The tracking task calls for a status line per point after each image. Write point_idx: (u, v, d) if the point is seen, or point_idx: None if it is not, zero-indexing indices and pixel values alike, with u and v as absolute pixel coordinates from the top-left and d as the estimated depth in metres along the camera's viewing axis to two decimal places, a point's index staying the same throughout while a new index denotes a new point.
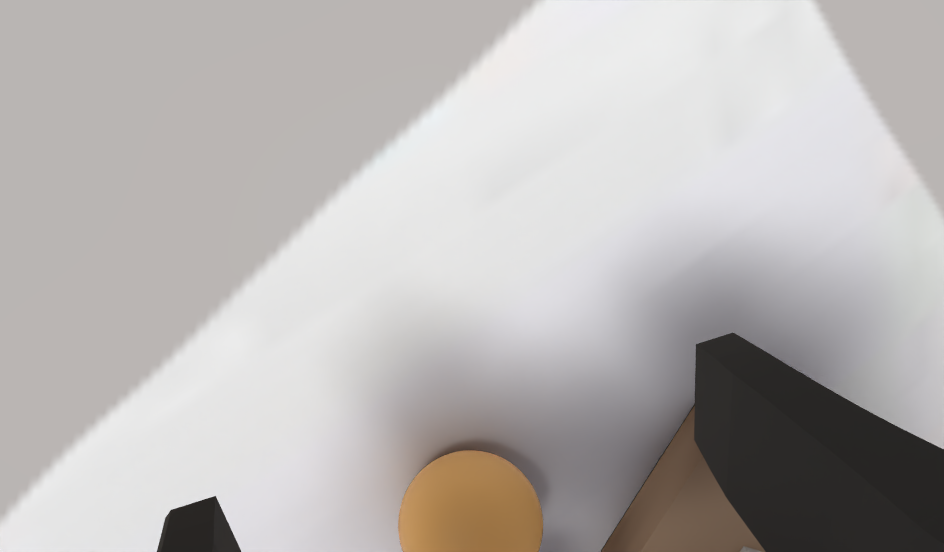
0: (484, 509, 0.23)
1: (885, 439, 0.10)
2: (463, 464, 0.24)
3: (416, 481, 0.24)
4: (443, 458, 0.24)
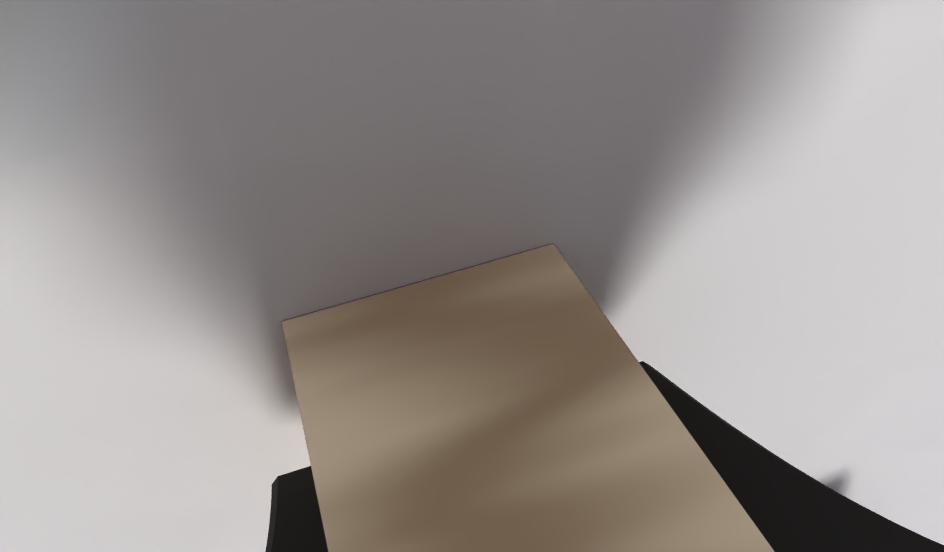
0: None
1: (774, 478, 0.10)
2: None
3: None
4: None
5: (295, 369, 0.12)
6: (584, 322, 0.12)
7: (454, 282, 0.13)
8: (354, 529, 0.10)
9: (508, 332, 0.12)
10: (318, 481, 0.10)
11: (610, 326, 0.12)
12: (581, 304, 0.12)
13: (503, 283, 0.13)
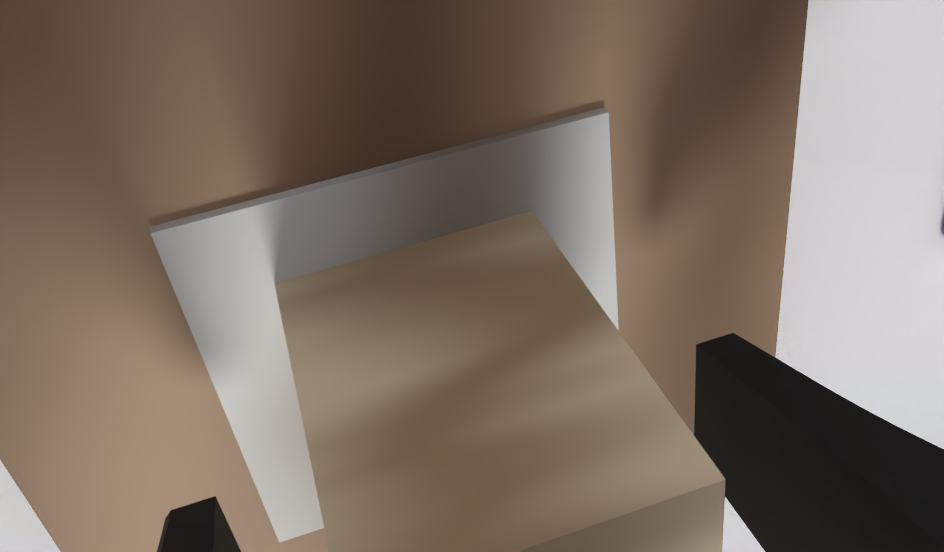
0: None
1: (885, 439, 0.10)
2: None
3: None
4: None
5: (287, 325, 0.13)
6: (558, 281, 0.13)
7: (438, 246, 0.14)
8: (339, 464, 0.10)
9: (487, 291, 0.13)
10: (307, 423, 0.11)
11: (582, 284, 0.12)
12: (556, 265, 0.13)
13: (483, 247, 0.14)
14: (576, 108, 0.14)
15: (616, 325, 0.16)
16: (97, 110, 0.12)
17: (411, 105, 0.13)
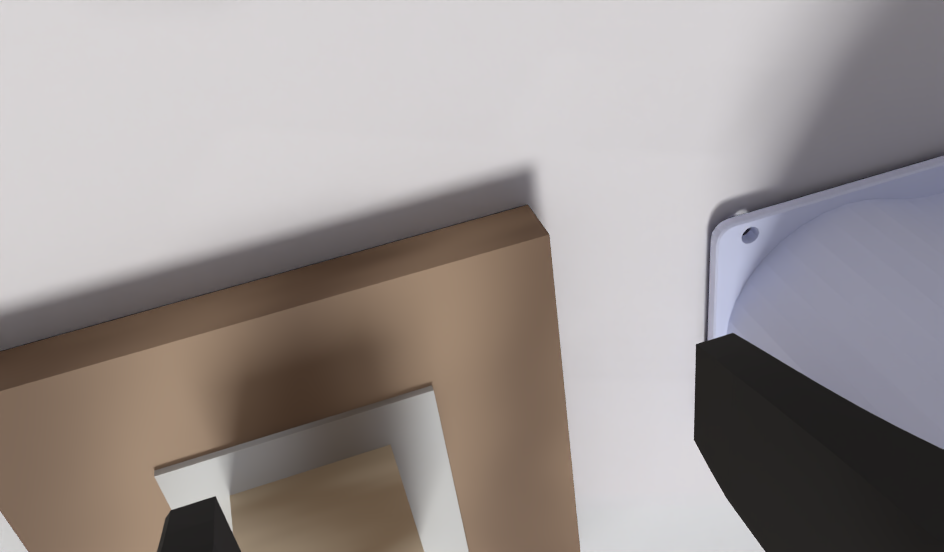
0: None
1: (885, 439, 0.10)
2: None
3: None
4: None
5: (235, 529, 0.21)
6: (395, 503, 0.21)
7: (330, 471, 0.22)
8: None
9: (353, 509, 0.21)
10: None
11: (409, 506, 0.21)
12: (396, 490, 0.22)
13: (357, 473, 0.22)
14: (414, 387, 0.22)
15: (456, 500, 0.25)
16: (124, 417, 0.20)
17: (309, 396, 0.21)
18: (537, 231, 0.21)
